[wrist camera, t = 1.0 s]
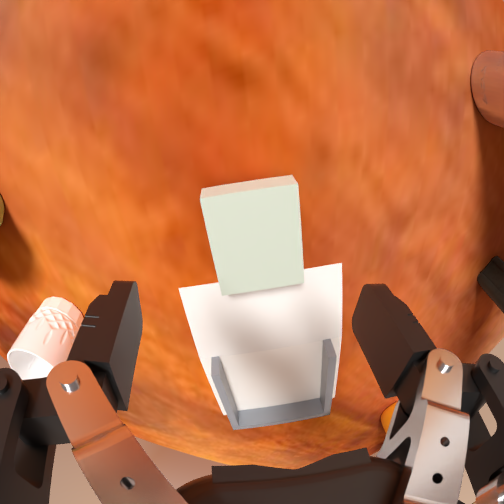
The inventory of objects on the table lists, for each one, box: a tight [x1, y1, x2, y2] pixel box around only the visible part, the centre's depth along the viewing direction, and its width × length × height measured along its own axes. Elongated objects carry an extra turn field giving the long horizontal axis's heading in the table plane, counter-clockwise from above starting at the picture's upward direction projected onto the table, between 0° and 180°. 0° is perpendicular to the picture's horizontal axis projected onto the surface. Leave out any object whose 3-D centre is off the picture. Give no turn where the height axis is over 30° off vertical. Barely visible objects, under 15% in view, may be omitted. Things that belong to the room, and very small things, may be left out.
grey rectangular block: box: [200, 175, 304, 296], centre depth 29 cm, size 8×10×4 cm
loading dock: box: [179, 263, 342, 430], centre depth 38 cm, size 18×25×6 cm
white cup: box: [7, 296, 84, 380], centre depth 30 cm, size 8×8×10 cm
